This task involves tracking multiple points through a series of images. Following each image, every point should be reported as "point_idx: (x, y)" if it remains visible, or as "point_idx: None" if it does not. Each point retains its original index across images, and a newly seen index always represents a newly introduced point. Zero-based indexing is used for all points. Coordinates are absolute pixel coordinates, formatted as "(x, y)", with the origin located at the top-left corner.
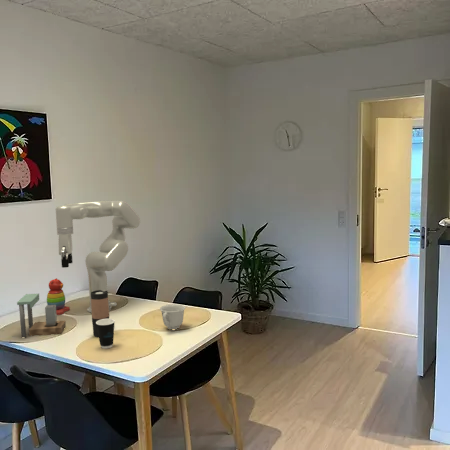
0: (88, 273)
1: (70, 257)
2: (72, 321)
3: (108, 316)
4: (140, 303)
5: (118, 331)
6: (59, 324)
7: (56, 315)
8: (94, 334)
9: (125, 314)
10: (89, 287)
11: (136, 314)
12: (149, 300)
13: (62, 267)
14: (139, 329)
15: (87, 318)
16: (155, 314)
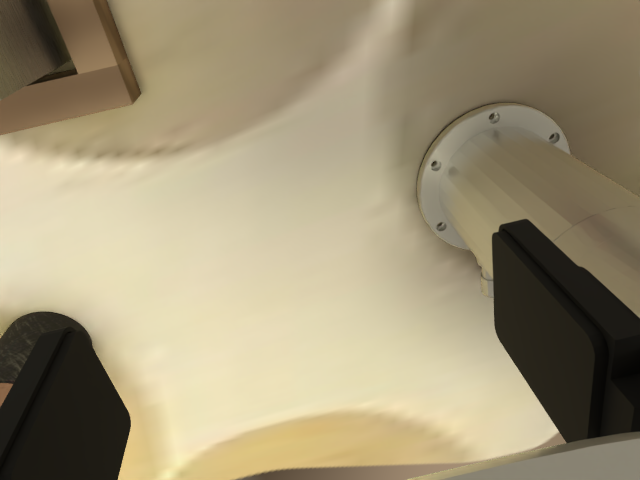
0: (631, 280)
1: (562, 410)
2: (250, 94)
3: None
4: None
5: None
6: (35, 99)
7: (38, 78)
8: (4, 333)
9: (382, 341)
10: (546, 206)
11: (378, 385)
12: None
13: (52, 337)
14: (160, 455)
15: (315, 170)
16: (373, 451)
